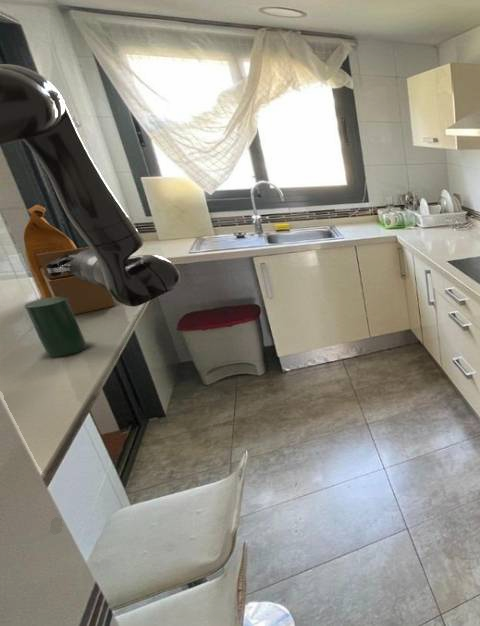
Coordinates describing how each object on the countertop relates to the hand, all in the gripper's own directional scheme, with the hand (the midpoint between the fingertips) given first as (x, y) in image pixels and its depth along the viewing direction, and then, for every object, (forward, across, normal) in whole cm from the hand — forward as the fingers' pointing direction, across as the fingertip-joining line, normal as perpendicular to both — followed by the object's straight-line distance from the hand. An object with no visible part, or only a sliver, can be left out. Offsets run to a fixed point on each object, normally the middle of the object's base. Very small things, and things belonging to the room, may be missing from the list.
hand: (71, 258), depth 101 cm
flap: (+1, 0, +1) cm, 1 cm away
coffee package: (+21, -3, +13) cm, 25 cm away
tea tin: (-22, +11, +13) cm, 27 cm away
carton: (+7, -1, +13) cm, 15 cm away
